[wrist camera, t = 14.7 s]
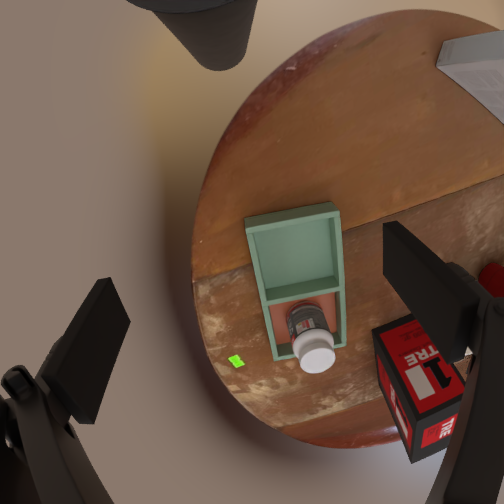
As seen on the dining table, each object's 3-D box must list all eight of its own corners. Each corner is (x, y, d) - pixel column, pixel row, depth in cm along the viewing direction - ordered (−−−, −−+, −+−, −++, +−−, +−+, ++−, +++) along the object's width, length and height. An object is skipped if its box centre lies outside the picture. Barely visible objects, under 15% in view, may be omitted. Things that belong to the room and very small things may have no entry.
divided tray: (244, 217, 42) (244, 228, 38) (331, 201, 41) (339, 210, 38) (271, 346, 51) (274, 361, 48) (340, 331, 51) (346, 345, 48)
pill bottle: (278, 311, 47) (288, 357, 38) (313, 293, 46) (329, 337, 37) (295, 335, 50) (307, 381, 41) (328, 319, 49) (345, 363, 40)
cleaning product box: (417, 368, 57) (456, 442, 40) (378, 384, 58) (411, 464, 40) (416, 311, 50) (472, 393, 32) (371, 329, 51) (416, 421, 33)
